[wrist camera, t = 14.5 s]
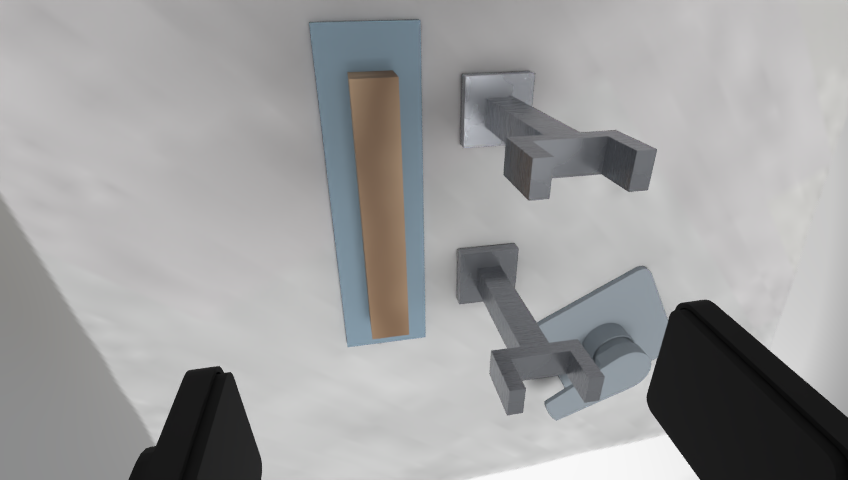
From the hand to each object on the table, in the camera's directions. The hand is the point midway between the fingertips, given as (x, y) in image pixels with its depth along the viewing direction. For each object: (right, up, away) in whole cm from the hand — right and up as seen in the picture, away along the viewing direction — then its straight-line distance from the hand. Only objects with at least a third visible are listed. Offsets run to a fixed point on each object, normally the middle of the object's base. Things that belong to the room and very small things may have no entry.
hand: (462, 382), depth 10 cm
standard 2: (+4, +13, +24) cm, 27 cm away
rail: (-4, +5, +25) cm, 26 cm away
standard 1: (+5, 0, +30) cm, 31 cm away
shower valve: (+16, -7, +37) cm, 42 cm away
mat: (-4, +6, +26) cm, 27 cm away
